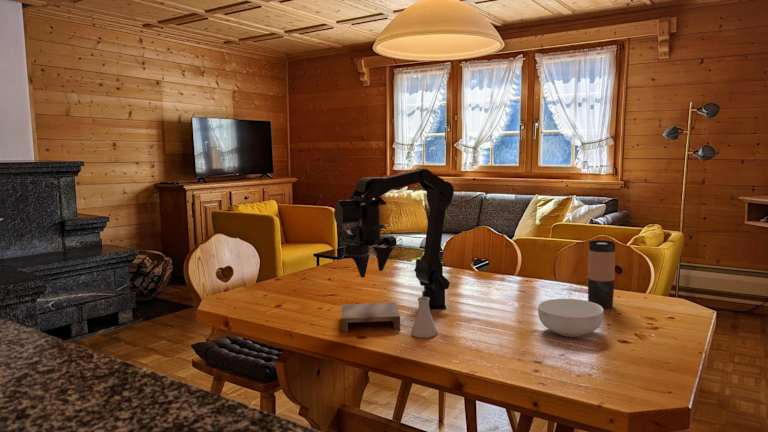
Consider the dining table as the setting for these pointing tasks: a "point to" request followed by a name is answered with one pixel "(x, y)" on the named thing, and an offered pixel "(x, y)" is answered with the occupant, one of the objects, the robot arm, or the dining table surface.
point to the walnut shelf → (370, 314)
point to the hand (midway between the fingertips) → (371, 274)
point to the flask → (424, 321)
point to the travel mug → (601, 273)
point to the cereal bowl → (570, 316)
